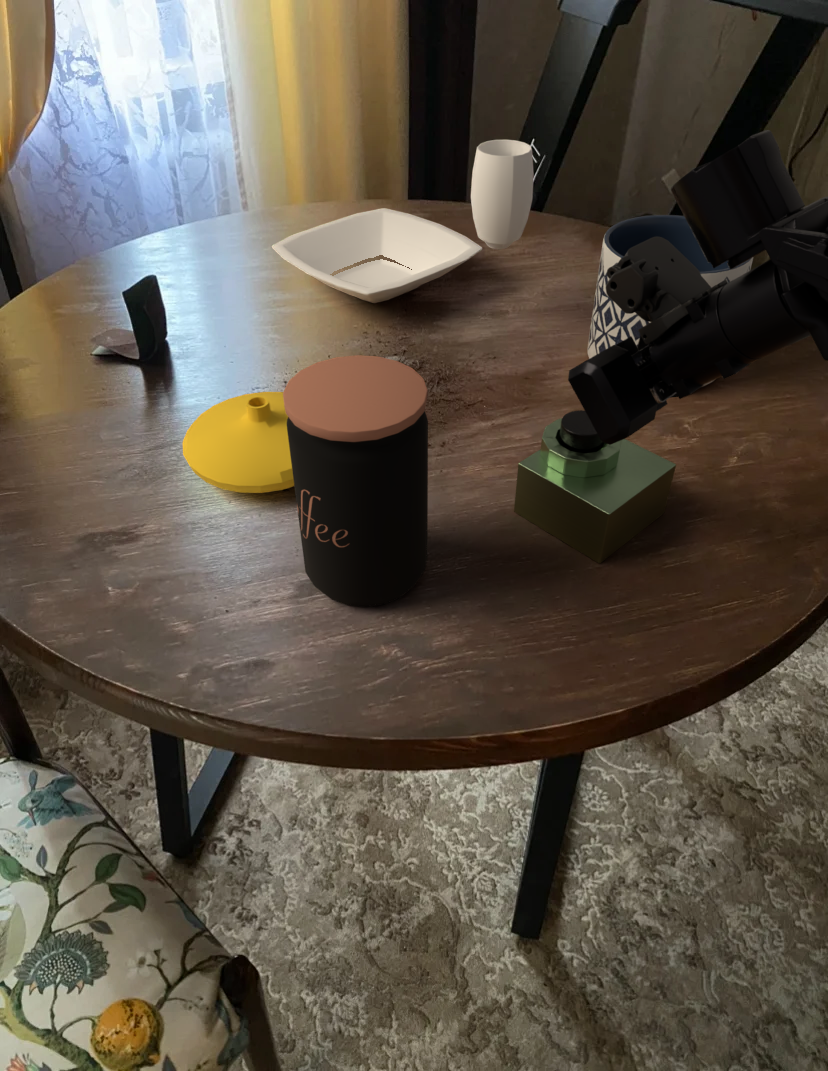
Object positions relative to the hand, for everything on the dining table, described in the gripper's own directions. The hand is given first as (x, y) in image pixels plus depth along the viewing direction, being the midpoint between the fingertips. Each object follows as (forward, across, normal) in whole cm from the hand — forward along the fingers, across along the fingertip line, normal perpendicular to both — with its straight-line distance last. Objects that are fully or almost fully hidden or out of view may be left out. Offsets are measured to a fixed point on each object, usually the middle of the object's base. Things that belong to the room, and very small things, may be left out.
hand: (595, 396), depth 71 cm
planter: (+16, -28, +1) cm, 33 cm away
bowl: (+43, -18, -26) cm, 54 cm away
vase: (+28, +17, -10) cm, 34 cm away
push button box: (+8, 0, +9) cm, 12 cm away
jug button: (+4, 0, +3) cm, 5 cm away
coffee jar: (+14, +20, +3) cm, 25 cm away
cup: (+31, -23, -14) cm, 41 cm away
